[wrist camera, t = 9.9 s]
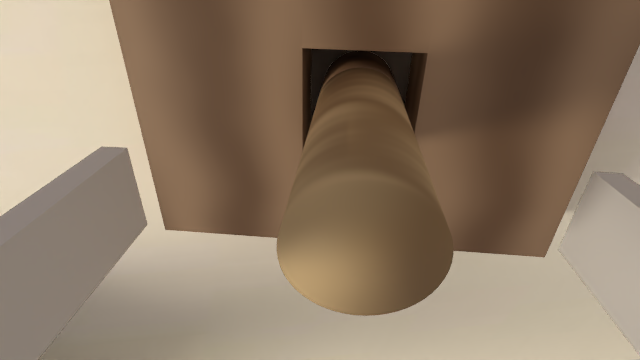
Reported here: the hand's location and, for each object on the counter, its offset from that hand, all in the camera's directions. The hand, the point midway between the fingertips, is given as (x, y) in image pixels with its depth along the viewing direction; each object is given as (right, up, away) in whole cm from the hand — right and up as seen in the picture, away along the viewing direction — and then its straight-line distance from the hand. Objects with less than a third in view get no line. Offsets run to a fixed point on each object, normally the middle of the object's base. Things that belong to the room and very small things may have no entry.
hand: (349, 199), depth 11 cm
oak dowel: (+1, +6, +10) cm, 11 cm away
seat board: (+1, +6, +10) cm, 11 cm away
